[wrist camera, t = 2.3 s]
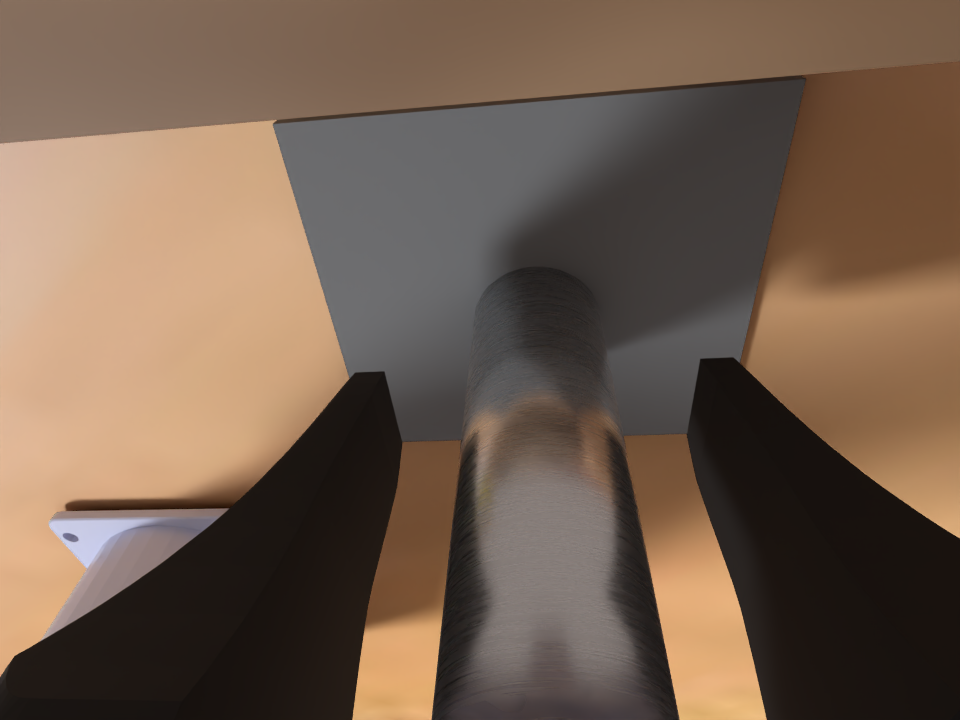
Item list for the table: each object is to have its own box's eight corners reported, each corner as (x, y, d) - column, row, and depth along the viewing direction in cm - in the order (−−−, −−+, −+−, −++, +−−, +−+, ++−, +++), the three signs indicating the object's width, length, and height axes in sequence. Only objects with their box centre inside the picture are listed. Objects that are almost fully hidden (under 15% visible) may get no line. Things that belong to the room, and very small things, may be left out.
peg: (597, 367, 15) (669, 793, 8) (480, 371, 15) (446, 786, 8) (601, 262, 13) (701, 697, 6) (467, 270, 13) (410, 691, 6)
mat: (720, 425, 16) (723, 433, 16) (370, 435, 17) (368, 442, 17) (799, 75, 11) (805, 79, 10) (277, 119, 12) (272, 124, 11)
